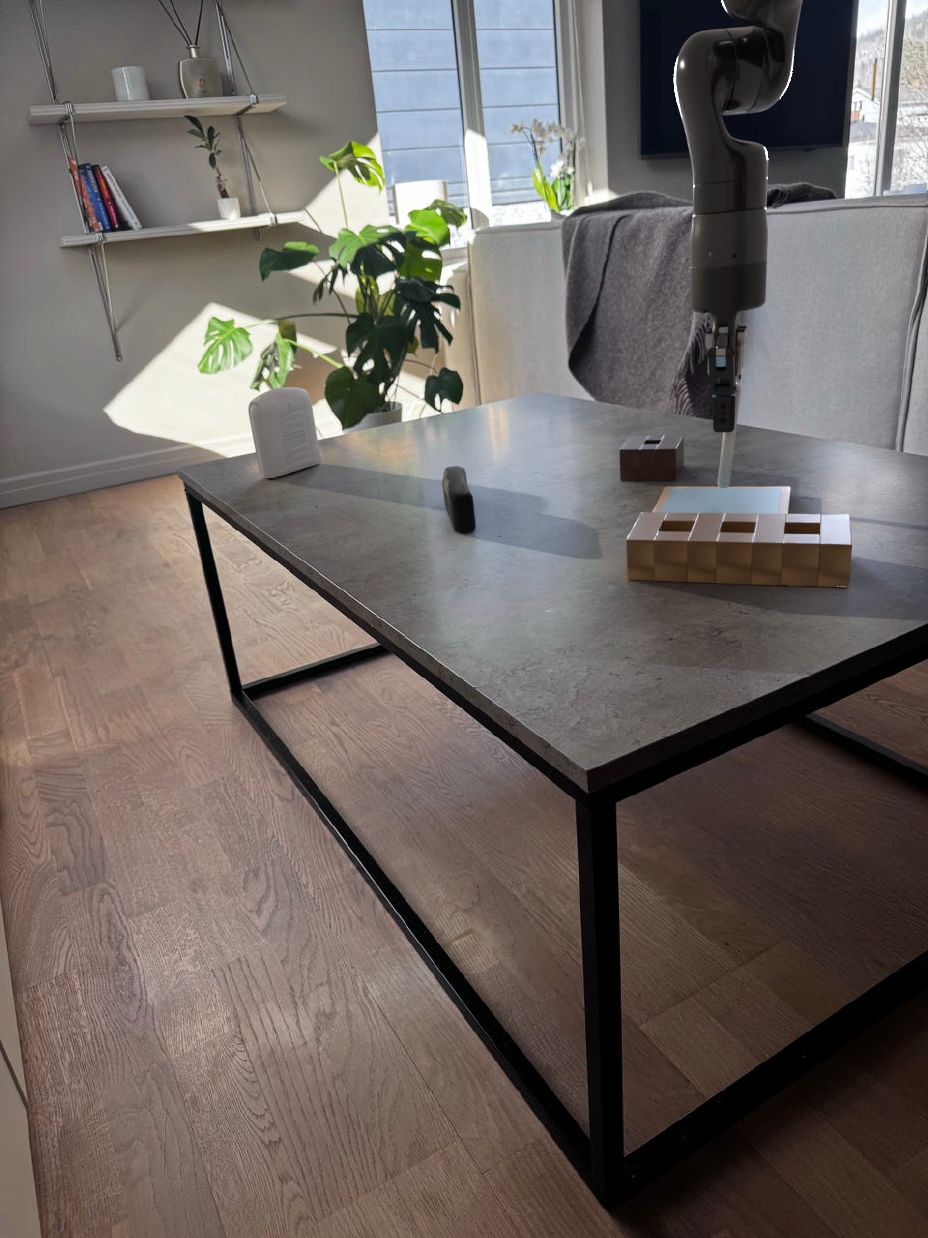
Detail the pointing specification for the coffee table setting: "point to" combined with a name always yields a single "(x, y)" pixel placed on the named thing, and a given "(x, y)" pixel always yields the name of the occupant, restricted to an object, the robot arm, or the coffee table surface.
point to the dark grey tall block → (458, 499)
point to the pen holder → (741, 548)
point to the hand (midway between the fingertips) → (724, 428)
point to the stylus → (728, 449)
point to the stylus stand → (652, 457)
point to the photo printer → (284, 431)
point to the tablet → (724, 500)
